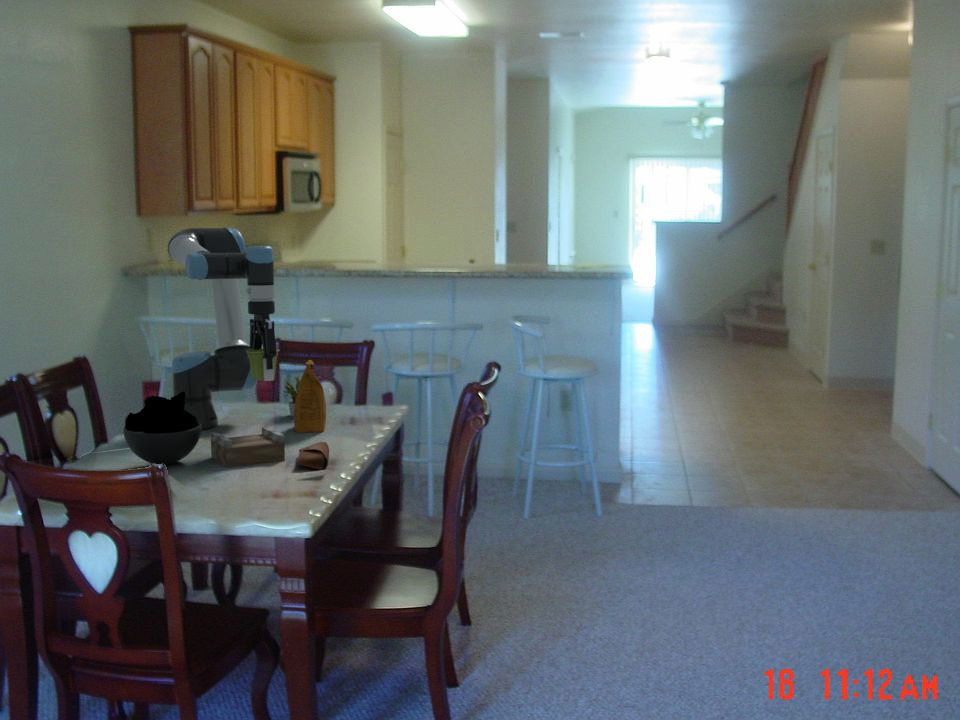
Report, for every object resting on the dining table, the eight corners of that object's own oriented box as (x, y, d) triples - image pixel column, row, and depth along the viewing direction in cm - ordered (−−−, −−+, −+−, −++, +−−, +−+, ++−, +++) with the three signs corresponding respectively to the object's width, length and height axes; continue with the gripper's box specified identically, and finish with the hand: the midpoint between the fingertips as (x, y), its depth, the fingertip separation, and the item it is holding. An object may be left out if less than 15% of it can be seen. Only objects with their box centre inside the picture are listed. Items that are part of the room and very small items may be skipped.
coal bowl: (130, 475, 258) (127, 402, 256) (119, 459, 276) (116, 391, 274) (210, 467, 267) (207, 396, 265) (194, 452, 285) (192, 386, 283)
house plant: (325, 416, 343) (324, 368, 341) (325, 423, 329) (324, 373, 327) (282, 417, 341) (281, 369, 339) (280, 424, 327) (279, 374, 325)
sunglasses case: (297, 448, 280) (313, 431, 280) (316, 465, 282) (332, 447, 282) (294, 463, 263) (312, 443, 263) (315, 480, 264) (332, 461, 264)
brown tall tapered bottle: (327, 427, 323) (325, 358, 320) (326, 434, 310) (325, 363, 308) (295, 428, 321) (293, 359, 319) (293, 435, 309) (291, 364, 307)
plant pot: (272, 382, 287) (271, 351, 286) (241, 381, 289) (240, 351, 288) (285, 378, 296) (284, 348, 295) (254, 377, 298) (253, 348, 297)
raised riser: (211, 457, 279) (210, 432, 278) (267, 451, 287) (266, 426, 286) (226, 467, 267) (226, 441, 266) (284, 460, 275) (284, 435, 274)
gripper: (236, 299, 297) (238, 375, 299) (261, 302, 279) (263, 384, 282) (261, 298, 301) (263, 374, 303) (287, 301, 283) (289, 382, 286)
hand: (263, 378), depth 292 cm, fingers closed on plant pot, 8 cm apart
